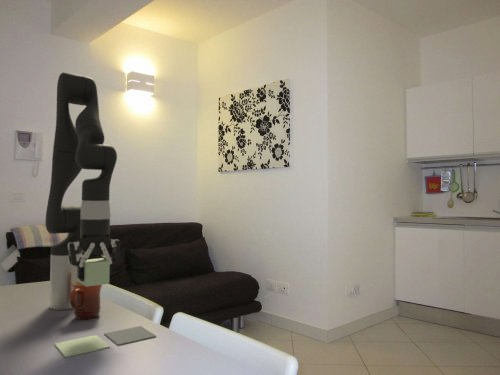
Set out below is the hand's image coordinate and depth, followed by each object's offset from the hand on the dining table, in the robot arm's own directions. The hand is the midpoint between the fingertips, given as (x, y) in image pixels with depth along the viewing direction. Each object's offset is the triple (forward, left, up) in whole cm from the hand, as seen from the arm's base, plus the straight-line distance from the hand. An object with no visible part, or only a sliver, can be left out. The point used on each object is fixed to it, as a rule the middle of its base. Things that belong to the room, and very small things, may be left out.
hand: (94, 279), depth 110 cm
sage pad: (+10, -6, -14) cm, 18 cm away
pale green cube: (0, 0, -1) cm, 1 cm away
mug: (-13, +1, -14) cm, 19 cm away
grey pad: (+10, +6, -14) cm, 18 cm away
